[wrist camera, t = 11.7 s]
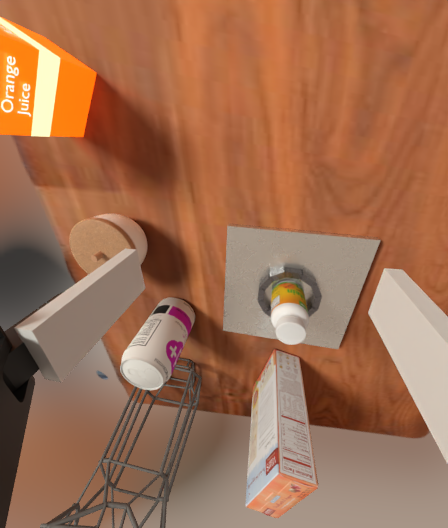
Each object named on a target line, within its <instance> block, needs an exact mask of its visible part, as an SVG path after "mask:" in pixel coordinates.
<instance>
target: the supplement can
mask: <svg viewBox="0 0 448 528" xmlns="http://www.w3.org/2000/svg"><path fill="white" fill-rule="evenodd" d="M194 322H195V313H194V310H193V309H192V308H191V306H190V305H189V304H188V303H186V302H185V301H184V300H181V299H178V298H166V299H163V300H162V301H161V302H159V304H158V305H157V307H156V308H155V309H154V311H153V312H152V314H151V315H150V316H149V318H148V319H147V321H146V322H145V324H144V325H143V326H142V328H141V329H140V331H139V332H138V333H137V335H136V336H135V338H134V339H133V340H132V342H131V343H130V345H129V346H128V348H127V349H126V350H125V352H124V354H123V356H122V362H121V366H120V371H121V374H122V375H123V377H124V378H125V379H126V380H127V381H128V382H129V383H131V384H132V385H134V386H136V387H138V388H141V389H145V390H156V389H158V388H160V387H161V386H162V385H163V384H164V383H165V382H167V381H168V380H169V378H170V376H171V374H172V372H173V370H174V368H175V365H176V363H177V361H178V358H179V356H180V354H181V352H182V349H183V347H184V345H185V342H186V340H187V338H188V335H189V333H190V331H191V329H192V326H193V324H194Z"/></svg>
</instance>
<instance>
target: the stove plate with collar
mask: <svg viewBox="0 0 448 528" xmlns="http://www.w3.org/2000/svg"><path fill="white" fill-rule="evenodd" d="M380 241H381V240H380V239H379V238H378V237H369V236H358V235H347V234H337V233H326V232H315V231H304V230H293V229H282V228H272V227H261V226H250V225H239V224H228V227H227V250H226V274H225V297H224V320H223V331H229V332H235V333H241V334H248V335H254V336H260V337H266V338H272V339H278V338H277V336H276V329H275V328H274V326H273V325H272V322H271V294H272V289H273V288H274V286H275V285H276V284H277V283H279V282H281V281H287V280H288V281H294V282H296V283H298V284H299V285H300V286H301V287H302V288H303V290H304V294H305V300H306V305H307V310H308V315H309V323H308V326H307V328H306V337H305V339H304V340H303V341H302V342H301V343H303V344H309V345H315V346H321V347H327V348H333V349H339V346H340V343H341V341H342V338H343V336H344V333H345V331H346V328H347V325H348V323H349V320H350V318H351V315H352V313H353V310H354V307H355V305H356V302H357V300H358V297H359V295H360V292H361V289H362V287H363V284H364V282H365V279H366V277H367V274H368V271H369V269H370V266H371V264H372V261H373V259H374V256H375V254H376V251H377V248H378V246H379V243H380ZM278 340H279V339H278Z"/></svg>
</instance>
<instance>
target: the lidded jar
mask: <svg viewBox="0 0 448 528" xmlns="http://www.w3.org/2000/svg"><path fill="white" fill-rule="evenodd" d="M70 248H71V251H72V254H73V256H74V258H75V260H76V261H77V263H78V264H79V265H80V266H81V268H82V269H83V270H84V271H86V272H87V273H88V274H90V273H92V272H93V271H94V270H96V269H97V268H99V267H100V266H101V265H103V264H104V263H106V262H107V261H108V260H110V259H111V258H113V257H114V256H115V255H117V254H118V253H120V252H121V251H122V250H124V249H137V253H138V257H139V262H140V265H141V264H142V263H143V261H144V259H145V257H146V254H147V248H148V245H147V239H146V236H145V233H144V231H143V230H142V228H141V227H140V226H139V225H138V224H137V223H136V222H135V221H133V220H132V219H130V218H128V217H126V216H123V215H120V214H103V215H98V216H95V217H92V218H88V219H85V220H82V221H80V222H78V223H77V224H76V225H75V226H74V227H73V229H72V231H71V233H70Z"/></svg>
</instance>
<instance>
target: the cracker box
mask: <svg viewBox="0 0 448 528" xmlns="http://www.w3.org/2000/svg"><path fill="white" fill-rule="evenodd" d="M317 488H318V480H317V474H316V468H315V461H314V454H313V447H312V440H311V433H310V426H309V419H308V412H307V406H306V399H305V392H304V385H303V378H302V371H301V364H300V358H299V357H298V356H294V355H292V354H289V353H286V352H283V351H280V350H277V349H274V350H273V352H272V354H271V356H270V357H269V359H268V361H267V363H266V365H265V366H264V368H263V370H262V372H261V374H260V375H259V377H258V379H257V381H256V382H255V384H254V386H253V399H252V414H251V431H250V445H249V460H248V476H247V491H246V507H248V508H250V509H253V510H256V511H259V512H262V513H264V514H266V515H269V516H271V517H274V518H279V517H280V516H281V515H283V514H284V513H286V512H287V511H288V510H289V509H291V508H292V507H293V506H294V505H295V504H297V503H298V502H300V501H301V500H302V499H304V498H305V497H306V496H308V495H309V494H310V493H312V492H313V491H314V490H316V489H317Z"/></svg>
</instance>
